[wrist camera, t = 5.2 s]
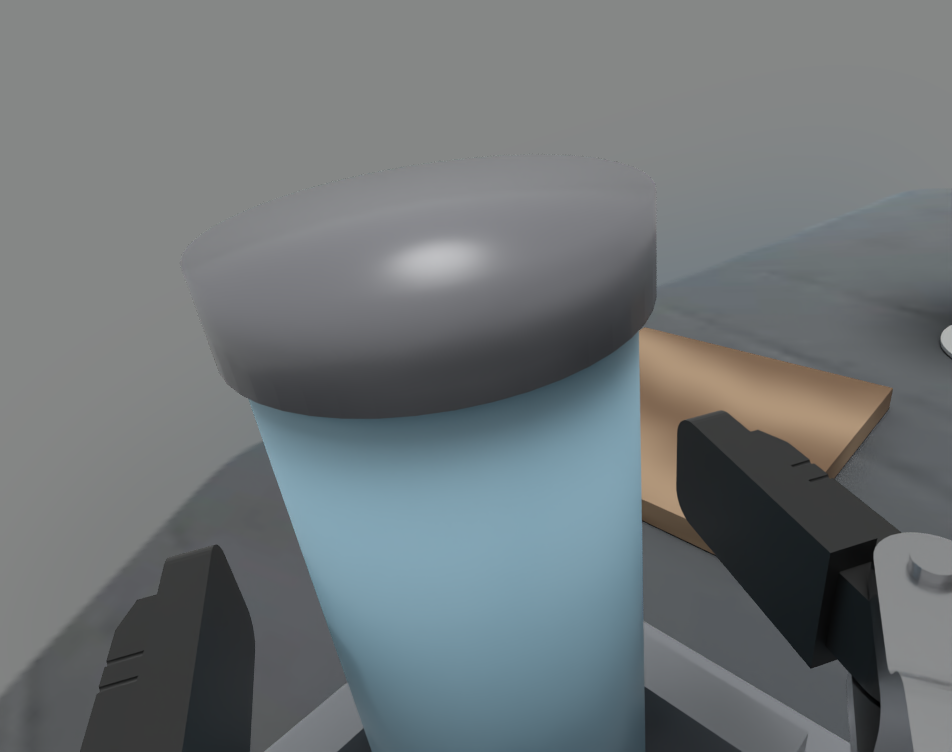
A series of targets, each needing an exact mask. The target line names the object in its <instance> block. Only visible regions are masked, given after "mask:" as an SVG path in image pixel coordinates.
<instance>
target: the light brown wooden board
mask: <svg viewBox="0 0 952 752" xmlns="http://www.w3.org/2000/svg"><path fill="white" fill-rule="evenodd" d="M639 368H640V433H641V498H642V520H643V521H645V522H647V523H649V524H651V525H653V526H655V527H657V528H659V529H662V530H664V531H666V532H668V533H670V534H672V535H674V536H676V537H678V538H681V539H683V540H685V541H687V542H689V543H691V544H693V545H695V546H697V547H700V548H702V549H704V550H706V551H708V552H710V553H712V554H714V553H713V551H712V550H711V549H710V548H709V547H708V545H707V544H706V543H705V542H704V541H703V539H702V538H701V537H700V536H699V535H698V533H697V532H696V531H695V530H694V529H693V528H692V526H691V525H690V524H689V523H688V521H687V520H686V518H685V516H684V514H683V512H682V510H681V508H680V505H679V502H678V498H677V492H676V469H677V429H678V425H679V423H680V422H681V421H683V420H686V419H690V418H694V417H697V416H701V415H705V414H708V413H712V412H716V411H720V410H722V411H725V412H727V413H729V414H730V415H731V416H732V417H734V418H735V419H736V420H737V421H738V422H740V423H741V424H742V425H743V426H744V427H745V428H747V429H748V430H749V431H750V432H751V431H755V430H760V431H763V432H765V433H767V434H770V435H772V436H775V437H777V438H779V439H782V440H784V441H786V442H788V443H790V444H791V445H792V446H793V447H795V448H796V449H797V450H798V451H800V452H801V453H802V454H803V455H805V456H806V457H807V458H808V459H810V462H811V464H813V463H815V464H816V465H817V466H818V467H820V468H821V469H822V470H823V471H825V472H826V473H827V474H828V476H829V478H830V479H831V478H835V477H836V476H837V474H838V473H839V472H840V470H841V469H842V468H843V467H844V465H845V464H846V463H847V462H848V460H849V459H850V458H851V456H852V455H853V454H854V453H855V451H856V450H857V449H858V447H859V446H860V445H861V444H862V442H863V441H864V440H865V438H866V437H867V436H868V435H869V433H870V432H871V431H872V430H873V428H874V427H875V426H876V424H877V423H878V422H879V421H880V419H881V418H882V417H883V415H884V414H885V413H886V412H887V410H888V409H889V406H890V401H891V396H892V391H893V388H890V387H886V386H882V385H877V384H873V383H869V382H865V381H861V380H857V379H853V378H849V377H845V376H841V375H837V374H833V373H829V372H825V371H820V370H816V369H812V368H808V367H804V366H800V365H796V364H792V363H788V362H784V361H780V360H776V359H772V358H768V357H763V356H759V355H755V354H751V353H747V352H743V351H739V350H735V349H731V348H727V347H723V346H719V345H715V344H711V343H707V342H702V341H698V340H694V339H690V338H686V337H682V336H678V335H674V334H670V333H666V332H662V331H658V330H654V329H650V328H645V327H644V328H643V329H641V330H640V331H639ZM714 555H715V554H714Z"/></svg>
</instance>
